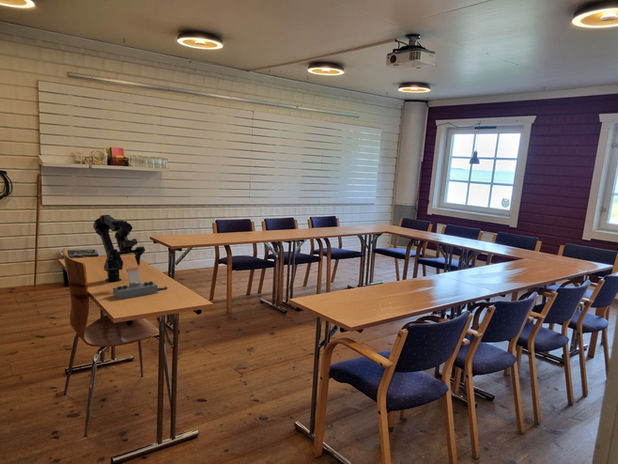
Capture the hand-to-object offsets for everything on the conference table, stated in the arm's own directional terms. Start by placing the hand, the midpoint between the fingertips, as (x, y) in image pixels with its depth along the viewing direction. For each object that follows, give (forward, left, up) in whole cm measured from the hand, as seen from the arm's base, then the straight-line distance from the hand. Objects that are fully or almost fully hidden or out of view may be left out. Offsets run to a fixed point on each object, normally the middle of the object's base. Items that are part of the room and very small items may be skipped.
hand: (130, 266), depth 229 cm
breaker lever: (+7, -3, -8) cm, 11 cm away
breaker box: (+9, 0, -13) cm, 16 cm away
